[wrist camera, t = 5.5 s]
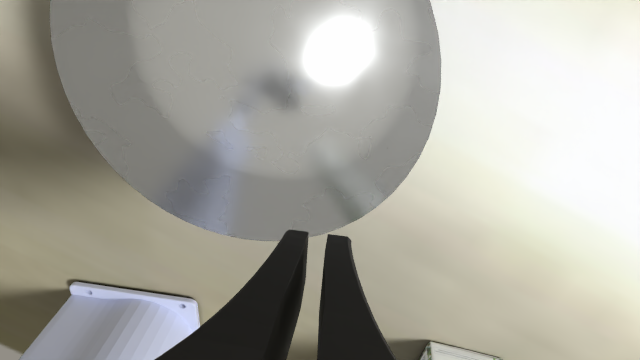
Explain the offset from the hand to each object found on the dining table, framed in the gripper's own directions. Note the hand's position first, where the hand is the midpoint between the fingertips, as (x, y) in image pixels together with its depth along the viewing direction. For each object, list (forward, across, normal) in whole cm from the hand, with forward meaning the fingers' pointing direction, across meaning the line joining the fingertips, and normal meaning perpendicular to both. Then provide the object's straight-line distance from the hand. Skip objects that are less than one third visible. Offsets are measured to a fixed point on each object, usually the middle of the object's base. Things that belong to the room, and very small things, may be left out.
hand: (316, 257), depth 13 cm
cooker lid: (+6, +4, -5) cm, 9 cm away
